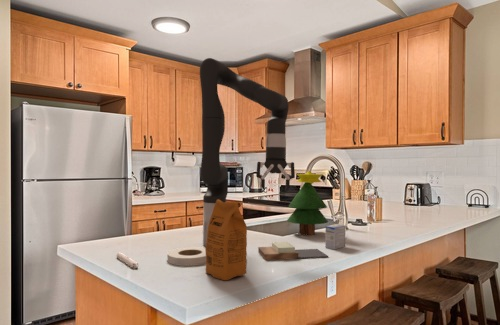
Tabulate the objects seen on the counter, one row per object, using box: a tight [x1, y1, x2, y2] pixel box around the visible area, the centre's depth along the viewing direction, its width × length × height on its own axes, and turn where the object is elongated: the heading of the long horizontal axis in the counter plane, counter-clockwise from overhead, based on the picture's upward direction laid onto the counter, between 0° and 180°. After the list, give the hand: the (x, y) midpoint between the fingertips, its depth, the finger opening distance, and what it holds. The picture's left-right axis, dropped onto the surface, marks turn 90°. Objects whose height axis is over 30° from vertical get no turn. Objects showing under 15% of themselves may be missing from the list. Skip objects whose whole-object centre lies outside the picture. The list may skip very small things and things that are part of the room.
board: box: [257, 246, 298, 261], centre depth 130 cm, size 12×11×2 cm
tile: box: [271, 241, 296, 253], centre depth 130 cm, size 6×9×2 cm, turn 10°
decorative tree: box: [286, 170, 329, 236], centre depth 170 cm, size 19×19×30 cm
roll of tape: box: [167, 246, 206, 267], centre depth 124 cm, size 16×15×3 cm
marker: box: [116, 252, 139, 270], centre depth 119 cm, size 18×2×2 cm, turn 37°
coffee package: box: [205, 199, 248, 281], centre depth 107 cm, size 10×12×22 cm
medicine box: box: [324, 223, 347, 250], centre depth 143 cm, size 8×4×9 cm, turn 135°
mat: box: [295, 248, 329, 260], centre depth 132 cm, size 12×11×1 cm
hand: (275, 189), depth 135 cm, fingers open, 8 cm apart
